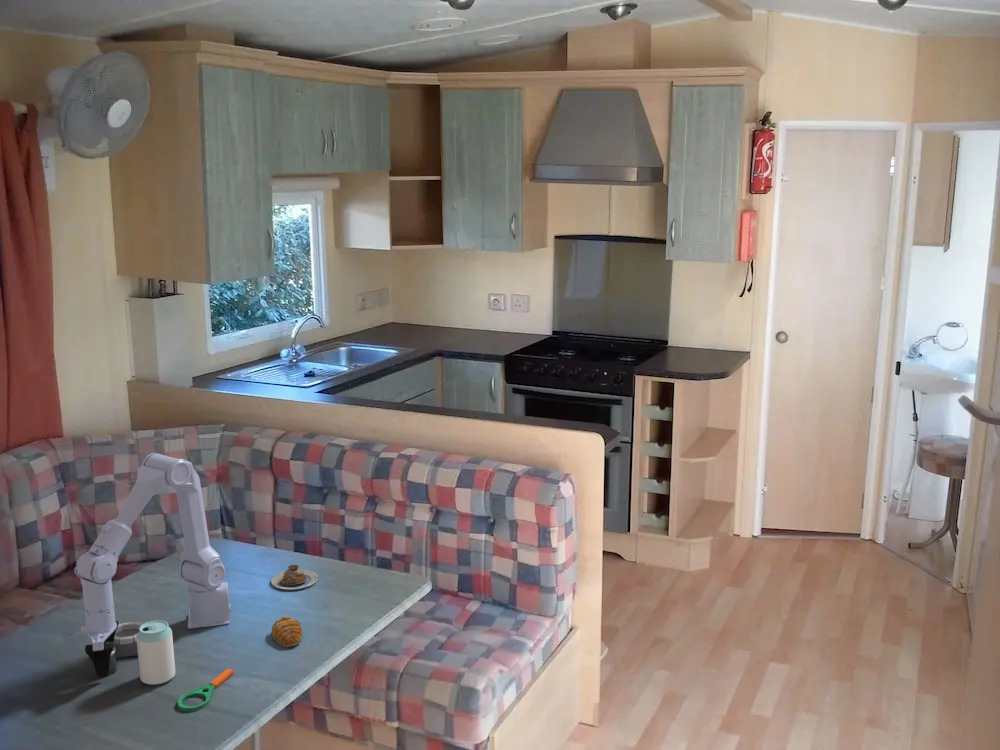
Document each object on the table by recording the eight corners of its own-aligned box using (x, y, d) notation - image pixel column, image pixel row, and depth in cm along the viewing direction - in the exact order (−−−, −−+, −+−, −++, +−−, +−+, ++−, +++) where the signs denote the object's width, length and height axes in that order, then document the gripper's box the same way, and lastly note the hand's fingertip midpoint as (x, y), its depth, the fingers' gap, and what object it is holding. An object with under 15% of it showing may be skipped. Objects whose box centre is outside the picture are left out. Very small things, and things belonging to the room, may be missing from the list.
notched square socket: (153, 636, 223) (152, 619, 222) (151, 653, 216) (150, 635, 215) (107, 642, 220) (105, 625, 219) (103, 659, 213) (101, 641, 212)
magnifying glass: (195, 716, 192) (195, 708, 192) (171, 709, 194) (170, 702, 194) (242, 678, 206) (241, 671, 206) (218, 673, 208) (218, 665, 208)
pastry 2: (269, 576, 256) (268, 560, 255) (315, 570, 259) (314, 554, 258) (273, 595, 245) (272, 578, 244) (321, 589, 248) (320, 572, 247)
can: (155, 690, 201) (150, 637, 198) (133, 680, 204) (128, 628, 202) (182, 675, 206) (178, 623, 204) (160, 666, 210) (156, 615, 207)
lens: (118, 664, 211) (115, 638, 210) (116, 675, 206) (113, 649, 205) (95, 667, 210) (92, 641, 208) (92, 678, 205) (90, 652, 204)
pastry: (308, 645, 220) (307, 629, 219) (279, 652, 217) (278, 636, 216) (297, 627, 228) (296, 612, 227) (269, 634, 225) (268, 618, 224)
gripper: (83, 594, 210) (89, 651, 213) (74, 625, 197) (80, 685, 200) (117, 590, 212) (123, 647, 215) (111, 620, 199) (117, 680, 202)
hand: (105, 665), depth 208 cm, fingers open, 7 cm apart
